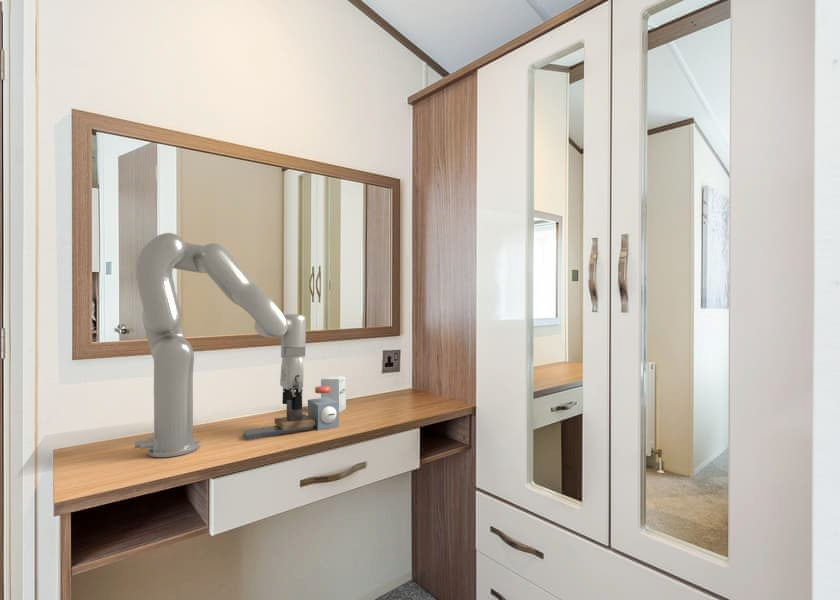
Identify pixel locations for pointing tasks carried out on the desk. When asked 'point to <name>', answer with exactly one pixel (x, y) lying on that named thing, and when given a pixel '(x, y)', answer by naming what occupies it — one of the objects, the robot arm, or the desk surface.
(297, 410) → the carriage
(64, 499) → the desk surface
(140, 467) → the desk surface
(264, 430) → the track
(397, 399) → the desk surface
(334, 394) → the supplement box
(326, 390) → the button
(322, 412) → the gauge cabinet
